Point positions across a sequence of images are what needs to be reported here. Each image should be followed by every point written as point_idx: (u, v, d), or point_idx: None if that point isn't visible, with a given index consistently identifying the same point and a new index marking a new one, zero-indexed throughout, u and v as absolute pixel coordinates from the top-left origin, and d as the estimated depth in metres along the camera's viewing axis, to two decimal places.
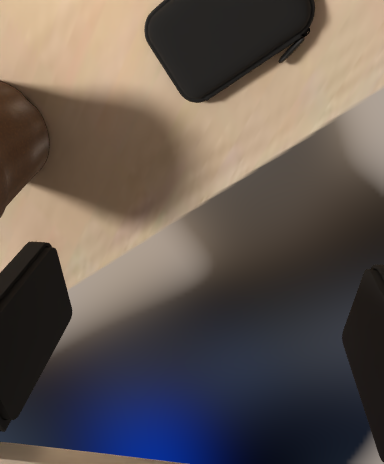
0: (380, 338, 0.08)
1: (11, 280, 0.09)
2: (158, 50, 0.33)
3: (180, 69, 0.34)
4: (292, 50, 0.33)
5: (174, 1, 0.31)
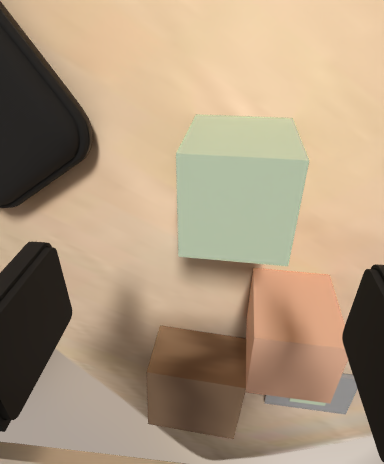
0: (380, 338, 0.08)
1: (11, 280, 0.09)
2: None
3: None
4: None
5: None
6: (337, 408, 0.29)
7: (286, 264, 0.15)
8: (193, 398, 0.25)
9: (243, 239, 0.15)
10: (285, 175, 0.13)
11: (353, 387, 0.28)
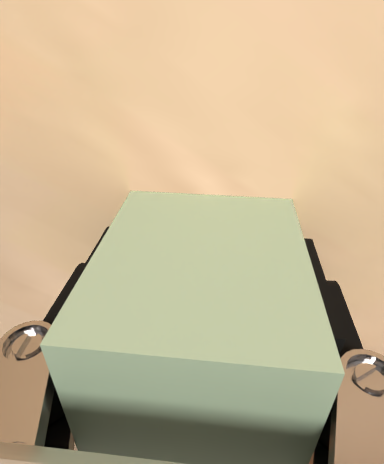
0: None
1: None
2: None
3: None
4: None
5: None
6: None
7: None
8: None
9: None
10: (288, 392, 0.06)
11: None
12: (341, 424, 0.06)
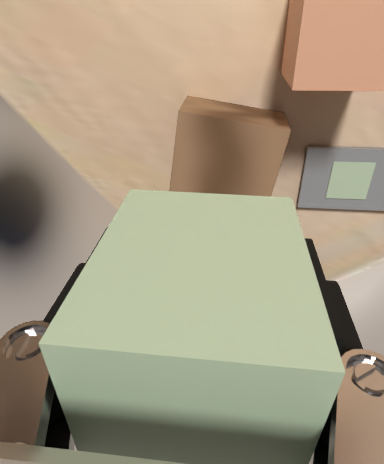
0: None
1: None
2: None
3: None
4: None
5: None
6: (379, 202, 0.27)
7: None
8: (227, 156, 0.22)
9: None
10: (288, 391, 0.06)
11: None
12: (341, 424, 0.06)
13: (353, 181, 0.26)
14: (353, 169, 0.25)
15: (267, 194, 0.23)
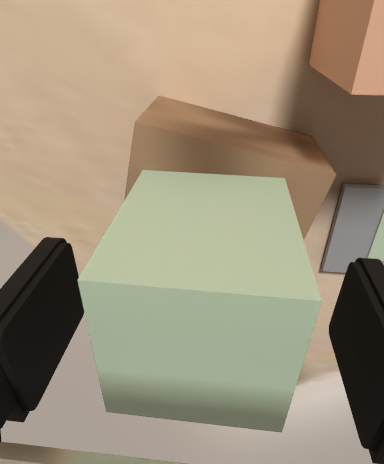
0: (362, 328, 0.09)
1: (30, 274, 0.09)
2: None
3: None
4: None
5: None
6: None
7: (279, 430, 0.09)
8: None
9: (208, 397, 0.09)
10: (277, 320, 0.07)
11: None
12: None
13: None
14: None
15: None
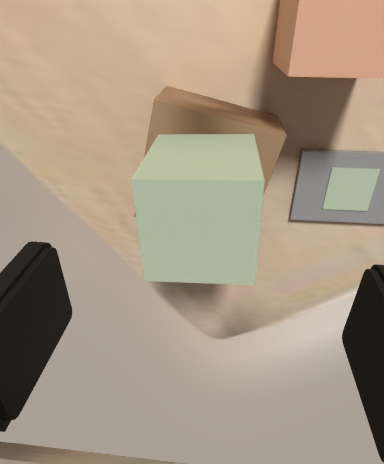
0: (380, 338, 0.08)
1: (11, 280, 0.09)
2: None
3: None
4: None
5: None
6: (382, 214, 0.23)
7: (253, 283, 0.15)
8: None
9: (208, 260, 0.15)
10: (242, 196, 0.13)
11: None
12: None
13: (354, 191, 0.23)
14: (354, 176, 0.22)
15: None
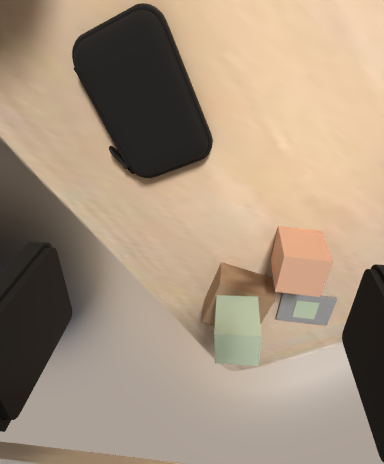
0: (380, 338, 0.08)
1: (11, 280, 0.09)
2: (125, 19, 0.29)
3: (104, 45, 0.30)
4: (118, 159, 0.36)
5: (167, 53, 0.30)
6: (321, 321, 0.47)
7: (258, 365, 0.39)
8: None
9: (240, 357, 0.38)
10: (253, 339, 0.36)
11: (331, 304, 0.45)
12: None
13: (307, 310, 0.47)
14: (307, 305, 0.46)
15: None
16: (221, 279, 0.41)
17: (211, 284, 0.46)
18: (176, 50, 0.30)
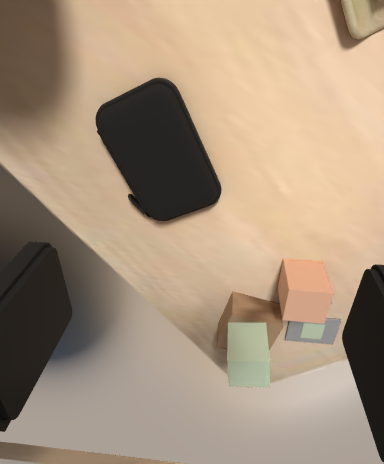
0: (380, 338, 0.08)
1: (11, 280, 0.09)
2: (143, 93, 0.33)
3: (124, 114, 0.34)
4: (136, 205, 0.40)
5: (180, 119, 0.34)
6: (328, 340, 0.51)
7: (268, 386, 0.42)
8: None
9: (252, 380, 0.42)
10: (263, 364, 0.40)
11: (336, 326, 0.49)
12: None
13: (314, 331, 0.50)
14: (313, 327, 0.49)
15: None
16: (233, 308, 0.45)
17: (224, 310, 0.50)
18: (188, 115, 0.34)
